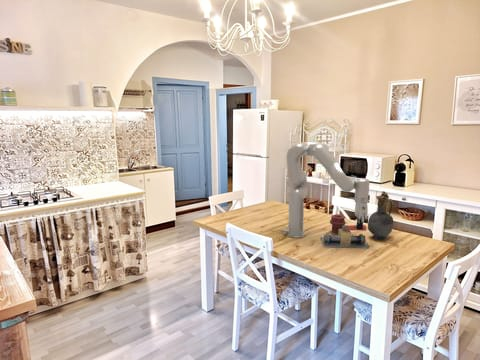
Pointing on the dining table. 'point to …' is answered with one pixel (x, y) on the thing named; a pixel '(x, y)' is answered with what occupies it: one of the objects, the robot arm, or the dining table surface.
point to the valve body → (344, 240)
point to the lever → (352, 228)
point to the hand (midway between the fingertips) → (359, 229)
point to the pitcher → (381, 218)
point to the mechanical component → (337, 222)
